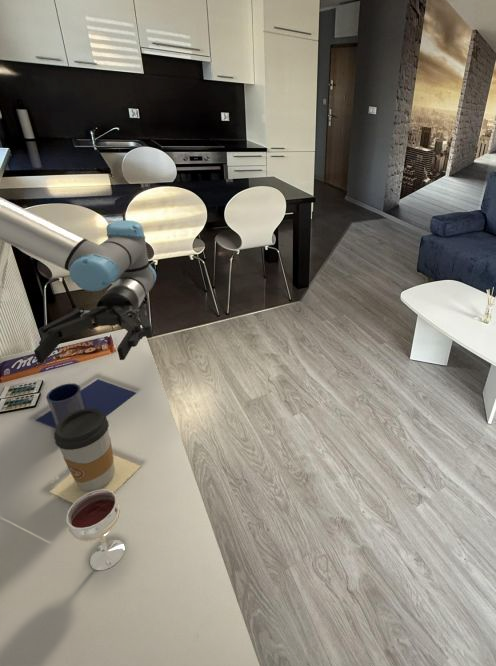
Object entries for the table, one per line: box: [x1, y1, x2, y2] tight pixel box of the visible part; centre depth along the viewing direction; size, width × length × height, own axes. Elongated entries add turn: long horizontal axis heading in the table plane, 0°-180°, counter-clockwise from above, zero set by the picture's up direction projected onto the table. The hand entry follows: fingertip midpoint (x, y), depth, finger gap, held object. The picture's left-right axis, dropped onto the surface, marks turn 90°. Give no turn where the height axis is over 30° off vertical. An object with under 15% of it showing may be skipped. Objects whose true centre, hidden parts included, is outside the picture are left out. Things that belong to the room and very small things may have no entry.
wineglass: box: [65, 489, 125, 571], centre depth 64 cm, size 7×7×12 cm
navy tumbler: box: [45, 382, 87, 426], centre depth 88 cm, size 6×6×10 cm
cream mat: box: [49, 454, 142, 504], centre depth 79 cm, size 11×11×1 cm
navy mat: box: [35, 378, 137, 429], centre depth 96 cm, size 13×16×1 cm
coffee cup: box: [53, 409, 115, 491], centre depth 76 cm, size 8×8×15 cm
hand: (80, 355), depth 73 cm, fingers open, 13 cm apart
